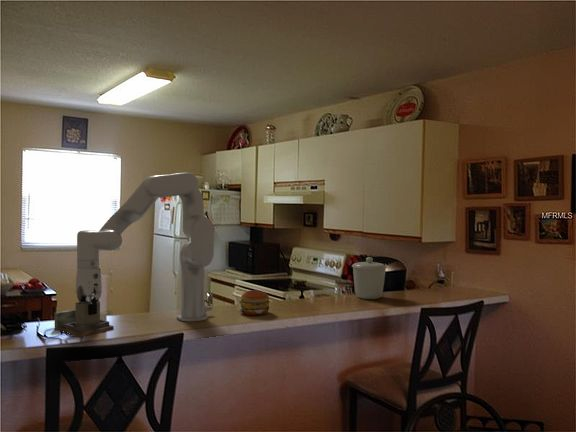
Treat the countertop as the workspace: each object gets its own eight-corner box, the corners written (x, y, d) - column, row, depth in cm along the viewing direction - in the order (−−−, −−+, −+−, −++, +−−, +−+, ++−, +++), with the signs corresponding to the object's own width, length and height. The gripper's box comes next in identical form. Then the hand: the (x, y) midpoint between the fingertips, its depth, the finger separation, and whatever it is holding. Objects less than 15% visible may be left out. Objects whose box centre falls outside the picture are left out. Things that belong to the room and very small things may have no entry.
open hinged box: (89, 322, 194) (89, 306, 194) (113, 329, 185) (113, 312, 185) (54, 329, 183) (54, 312, 183) (78, 337, 173) (78, 319, 173)
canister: (347, 294, 265) (348, 255, 264) (380, 294, 267) (381, 255, 266) (355, 301, 247) (356, 259, 246) (390, 301, 249) (392, 259, 248)
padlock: (75, 324, 182) (75, 284, 182) (98, 322, 186) (98, 282, 186) (76, 327, 179) (76, 285, 178) (100, 324, 183) (100, 284, 182)
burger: (274, 315, 212) (274, 292, 212) (244, 318, 207) (244, 294, 207) (263, 309, 225) (264, 287, 224) (234, 311, 219) (235, 288, 219)
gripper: (110, 265, 180) (110, 314, 180) (84, 261, 190) (84, 308, 191) (92, 267, 174) (91, 318, 174) (65, 263, 184) (65, 311, 185)
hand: (87, 312), depth 183 cm, fingers closed on padlock, 5 cm apart
